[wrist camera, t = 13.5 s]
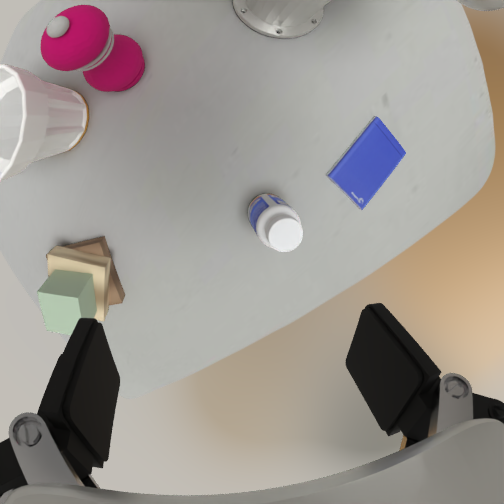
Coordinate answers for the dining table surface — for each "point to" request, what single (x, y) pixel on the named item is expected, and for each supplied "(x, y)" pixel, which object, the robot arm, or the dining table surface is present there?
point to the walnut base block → (101, 248)
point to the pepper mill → (92, 49)
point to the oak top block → (85, 264)
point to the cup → (36, 119)
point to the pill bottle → (275, 222)
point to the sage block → (67, 300)
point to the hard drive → (367, 163)
